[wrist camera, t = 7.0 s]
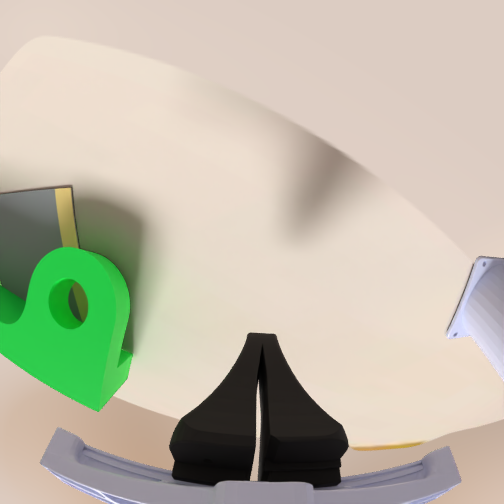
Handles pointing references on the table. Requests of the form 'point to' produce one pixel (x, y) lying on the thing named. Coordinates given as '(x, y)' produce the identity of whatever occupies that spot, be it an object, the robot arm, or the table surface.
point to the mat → (37, 239)
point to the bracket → (70, 327)
